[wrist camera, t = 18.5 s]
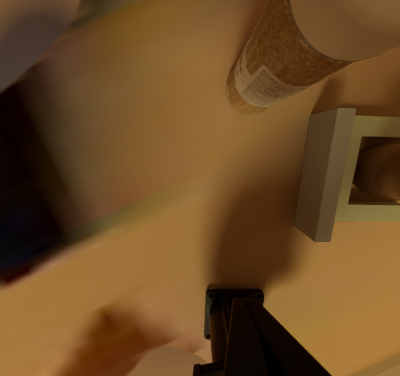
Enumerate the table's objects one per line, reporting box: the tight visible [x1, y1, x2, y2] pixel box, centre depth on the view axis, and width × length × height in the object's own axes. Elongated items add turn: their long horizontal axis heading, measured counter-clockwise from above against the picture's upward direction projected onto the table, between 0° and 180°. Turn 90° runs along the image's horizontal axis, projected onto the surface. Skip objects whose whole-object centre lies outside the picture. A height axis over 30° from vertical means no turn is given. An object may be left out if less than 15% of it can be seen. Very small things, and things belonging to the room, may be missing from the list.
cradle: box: [334, 115, 400, 222], centre depth 18 cm, size 10×8×1 cm
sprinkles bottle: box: [227, 0, 400, 114], centre depth 10 cm, size 5×5×13 cm
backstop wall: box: [294, 108, 356, 242], centre depth 17 cm, size 11×1×4 cm, turn 178°
